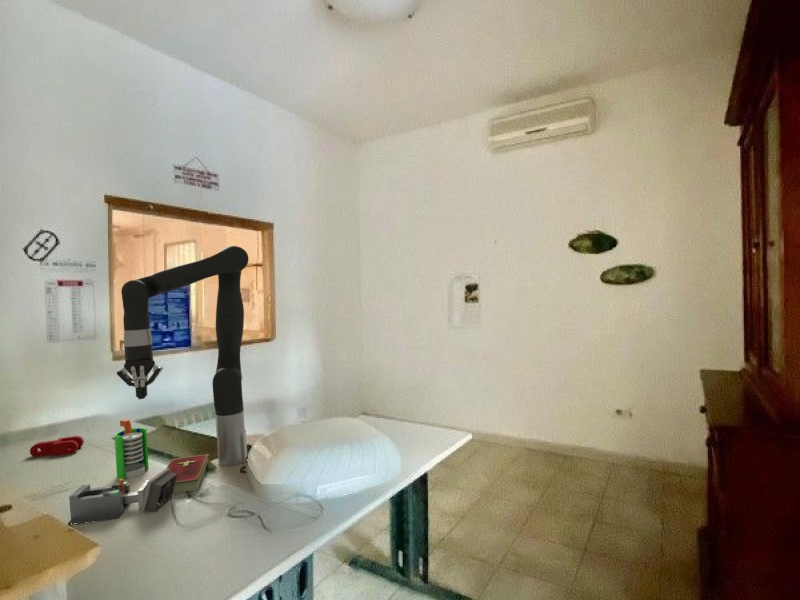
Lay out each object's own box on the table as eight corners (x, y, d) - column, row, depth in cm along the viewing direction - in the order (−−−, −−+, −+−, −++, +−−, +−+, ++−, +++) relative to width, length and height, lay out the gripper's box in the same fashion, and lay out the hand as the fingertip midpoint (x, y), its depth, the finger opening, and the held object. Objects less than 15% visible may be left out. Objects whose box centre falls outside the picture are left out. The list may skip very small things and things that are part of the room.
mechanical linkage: (84, 447, 175) (83, 435, 175) (77, 453, 168) (76, 440, 168) (36, 454, 170) (35, 441, 170) (27, 460, 163) (26, 447, 163)
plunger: (152, 498, 126) (150, 471, 126) (143, 510, 119) (141, 481, 119) (101, 505, 123) (99, 477, 123) (89, 518, 116) (87, 488, 116)
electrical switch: (160, 497, 127) (161, 466, 127) (178, 499, 127) (178, 468, 127) (140, 515, 118) (140, 481, 117) (158, 516, 118) (159, 482, 117)
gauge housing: (133, 500, 126) (131, 476, 126) (119, 518, 116) (117, 492, 116) (86, 507, 124) (84, 482, 123) (67, 525, 114) (65, 499, 114)
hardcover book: (154, 499, 128) (153, 484, 127) (171, 470, 148) (170, 458, 148) (198, 492, 131) (197, 478, 131) (209, 465, 151) (208, 453, 151)
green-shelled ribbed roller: (131, 480, 141) (127, 425, 140) (110, 479, 142) (106, 424, 142) (152, 468, 150) (149, 416, 149) (132, 467, 151) (128, 416, 151)
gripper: (164, 340, 141) (168, 393, 142) (119, 344, 139) (123, 397, 139) (157, 343, 134) (161, 399, 135) (109, 347, 131) (113, 403, 132)
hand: (141, 398), depth 137 cm, fingers closed
